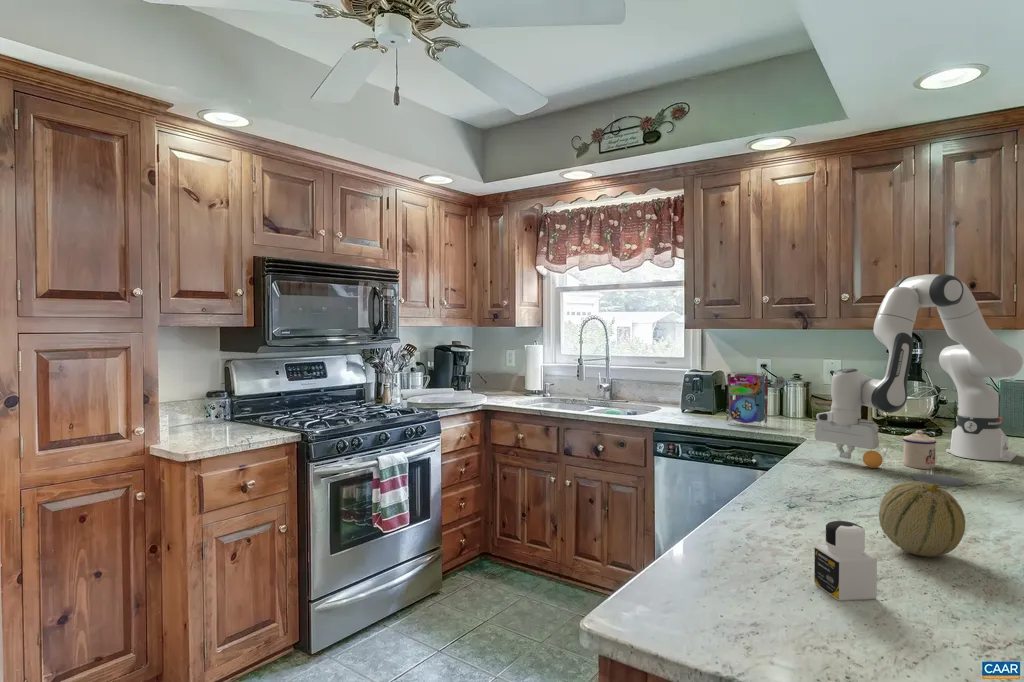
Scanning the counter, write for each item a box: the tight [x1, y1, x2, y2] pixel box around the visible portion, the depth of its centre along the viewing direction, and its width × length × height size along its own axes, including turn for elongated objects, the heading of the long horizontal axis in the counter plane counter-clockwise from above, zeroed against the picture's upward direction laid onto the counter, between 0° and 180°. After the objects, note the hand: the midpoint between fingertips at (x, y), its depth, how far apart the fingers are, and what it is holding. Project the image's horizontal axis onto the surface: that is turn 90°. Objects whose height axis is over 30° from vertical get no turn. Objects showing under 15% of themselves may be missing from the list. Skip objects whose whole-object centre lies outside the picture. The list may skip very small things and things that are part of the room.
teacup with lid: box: [902, 429, 937, 470], centre depth 198 cm, size 12×9×12 cm
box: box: [725, 371, 786, 429], centre depth 272 cm, size 25×6×24 cm, turn 50°
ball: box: [862, 450, 883, 469], centre depth 195 cm, size 6×6×6 cm
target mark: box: [912, 473, 967, 487], centre depth 179 cm, size 13×13×1 cm
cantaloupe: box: [878, 480, 967, 558], centre depth 123 cm, size 15×15×15 cm
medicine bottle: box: [813, 520, 878, 602], centre depth 106 cm, size 7×7×12 cm
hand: (845, 457), depth 203 cm, fingers closed
